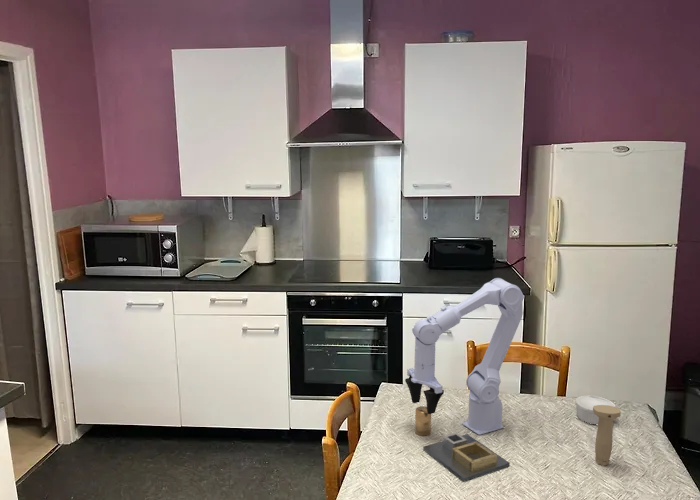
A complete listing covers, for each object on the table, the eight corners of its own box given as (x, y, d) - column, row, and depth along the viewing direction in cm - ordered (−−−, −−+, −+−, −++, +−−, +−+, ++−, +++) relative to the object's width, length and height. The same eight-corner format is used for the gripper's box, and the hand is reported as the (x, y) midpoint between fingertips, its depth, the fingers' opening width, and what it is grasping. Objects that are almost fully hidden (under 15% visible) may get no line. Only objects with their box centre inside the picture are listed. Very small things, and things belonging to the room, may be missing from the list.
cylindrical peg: (424, 427, 167) (425, 405, 165) (433, 434, 163) (434, 411, 161) (412, 431, 165) (412, 408, 163) (420, 437, 161) (421, 414, 159)
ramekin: (617, 416, 174) (618, 400, 173) (611, 431, 165) (612, 414, 164) (578, 407, 180) (579, 392, 179) (570, 421, 171) (572, 405, 170)
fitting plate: (466, 437, 161) (467, 425, 160) (509, 466, 146) (510, 453, 146) (423, 449, 154) (423, 437, 154) (463, 481, 139) (463, 468, 139)
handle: (618, 469, 145) (623, 414, 142) (592, 467, 146) (596, 412, 143) (611, 458, 150) (616, 405, 147) (586, 457, 151) (590, 404, 148)
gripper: (398, 356, 164) (397, 400, 167) (428, 373, 152) (426, 421, 154) (419, 352, 168) (417, 395, 170) (449, 369, 155) (447, 415, 157)
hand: (423, 407), depth 162 cm, fingers open, 7 cm apart
